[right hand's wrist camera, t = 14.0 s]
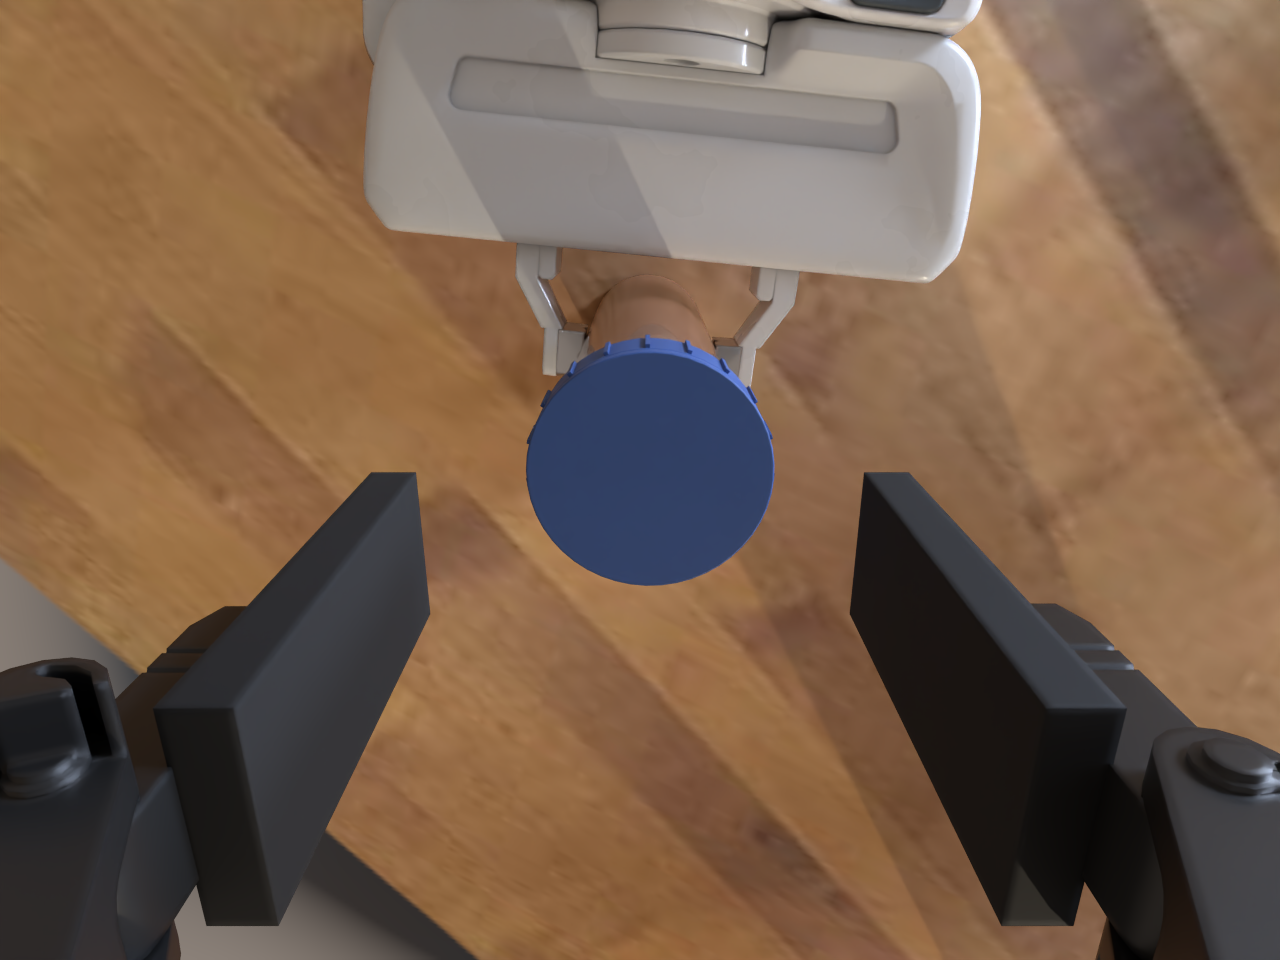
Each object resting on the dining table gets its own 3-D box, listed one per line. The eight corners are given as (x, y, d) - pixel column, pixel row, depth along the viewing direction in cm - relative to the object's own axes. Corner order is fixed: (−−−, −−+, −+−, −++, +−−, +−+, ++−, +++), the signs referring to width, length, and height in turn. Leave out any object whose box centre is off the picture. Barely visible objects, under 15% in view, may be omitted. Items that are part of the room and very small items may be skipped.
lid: (490, 485, 20) (476, 512, 18) (610, 286, 18) (606, 296, 17) (683, 594, 21) (686, 629, 19) (812, 414, 19) (828, 435, 18)
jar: (573, 346, 36) (505, 499, 19) (629, 252, 35) (614, 320, 17) (663, 401, 37) (681, 598, 19) (722, 312, 36) (799, 436, 18)
